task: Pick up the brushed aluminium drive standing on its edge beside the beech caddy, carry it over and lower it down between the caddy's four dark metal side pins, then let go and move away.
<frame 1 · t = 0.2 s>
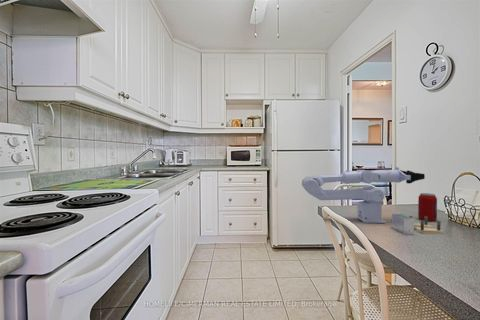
hand: (418, 175, 105), 21 cm above the table, tool horizontal, fingers open, 7 cm apart
drive: (402, 231, 93), on the table
caddy: (424, 229, 94), on the table
beverage can: (427, 220, 108), on the table
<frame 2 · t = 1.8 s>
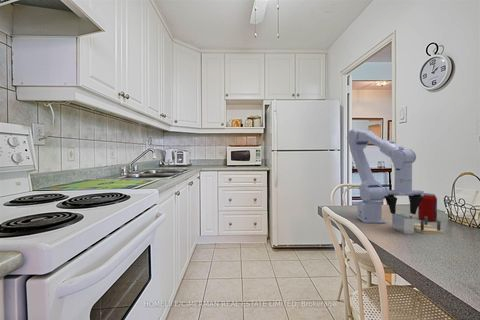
hand: (402, 213, 93), 7 cm above the table, tool pointing down, fingers open, 7 cm apart
nothing on the table moved.
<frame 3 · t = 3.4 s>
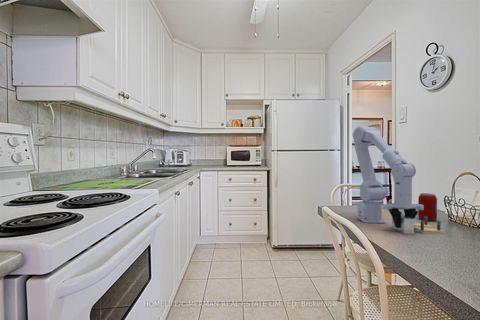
hand: (402, 227, 93), 1 cm above the table, tool pointing down, fingers closed on drive, 3 cm apart
drive: (402, 230, 93), on the table, touching gripper
everything else where it was.
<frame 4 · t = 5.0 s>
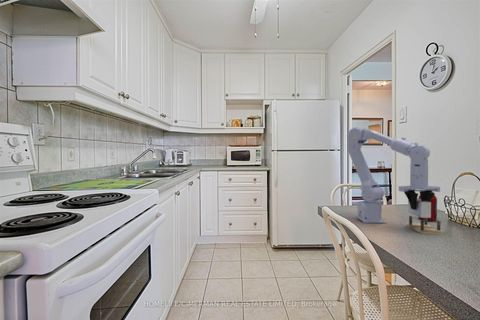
hand: (418, 209, 94), 8 cm above the table, tool pointing down, fingers closed on drive, 3 cm apart
drive: (418, 214, 94), point 6 cm above the table, touching gripper
everything else where it was.
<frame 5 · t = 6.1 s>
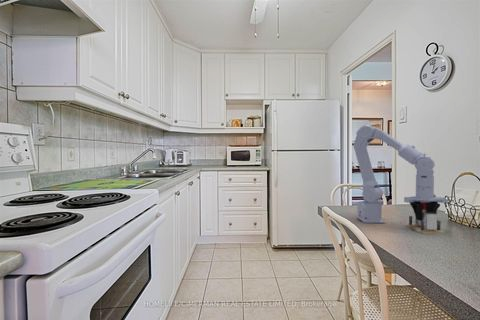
hand: (424, 220, 94), 4 cm above the table, tool pointing down, fingers closed on drive, 3 cm apart
drive: (424, 226, 94), point 1 cm above the table, touching gripper
everything else where it was.
when the fingers open (4 cm above the table, at t = 6.8 s): drive stays where it is, resting on caddy.
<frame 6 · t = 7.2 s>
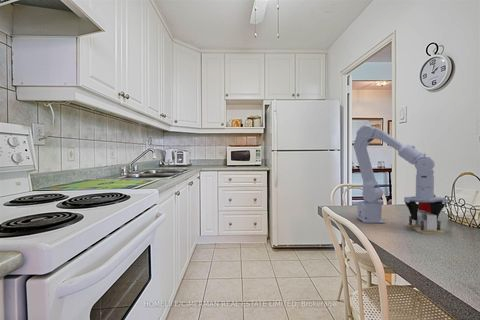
hand: (424, 220, 94), 4 cm above the table, tool pointing down, fingers open, 7 cm apart
drive: (424, 227, 94), point 1 cm above the table, touching caddy
everything else where it was.
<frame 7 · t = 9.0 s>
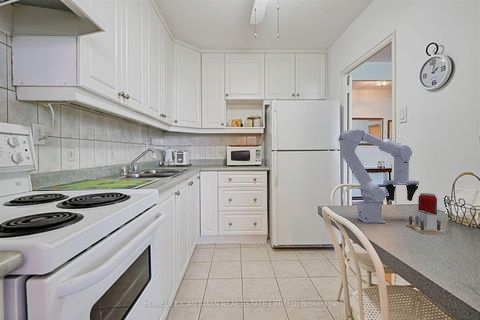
hand: (400, 200, 108), 9 cm above the table, tool pointing down, fingers open, 7 cm apart
nothing on the table moved.
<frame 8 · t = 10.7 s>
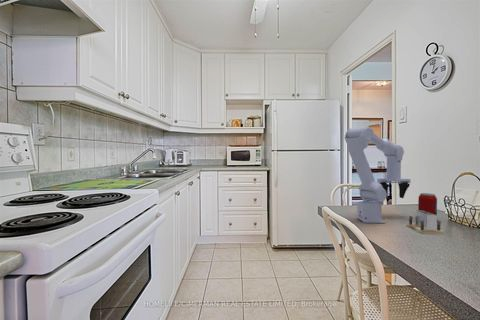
hand: (393, 197, 113), 9 cm above the table, tool pointing down, fingers open, 7 cm apart
nothing on the table moved.
at the end: drive 0.2 cm off-centre on the caddy, point 1.0 cm above the caddy's base; drive tilted 0°; the gripper is holding nothing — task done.
